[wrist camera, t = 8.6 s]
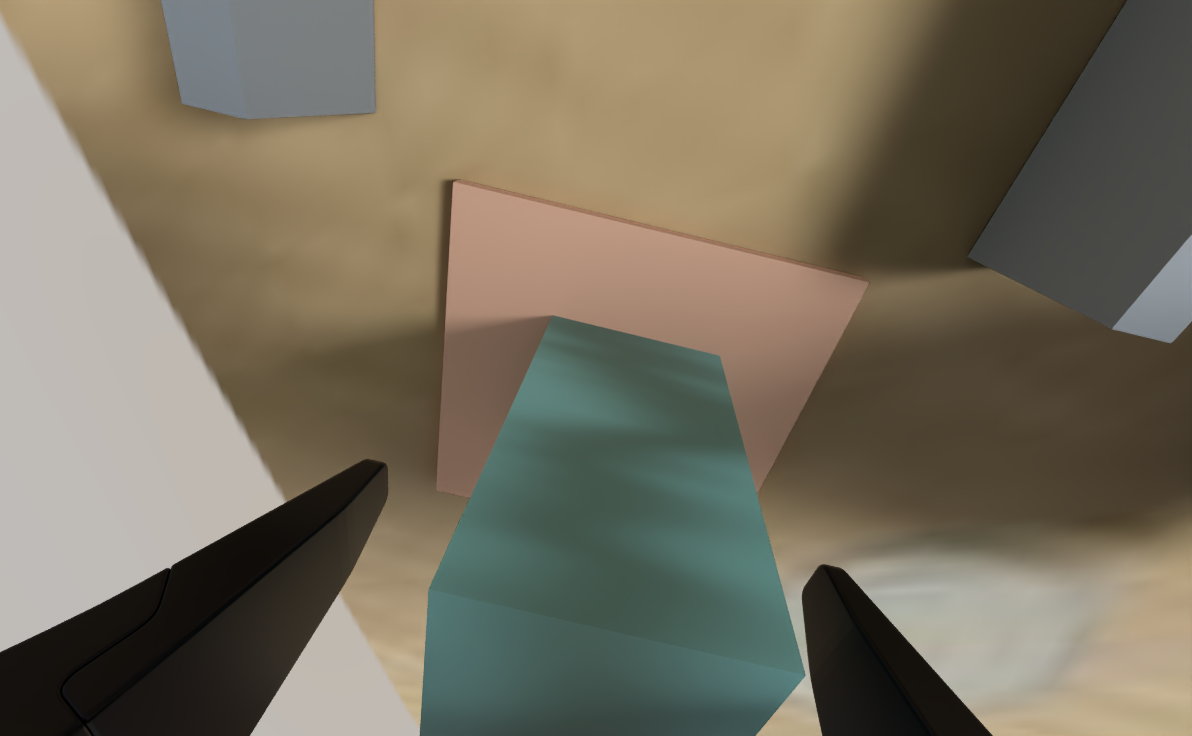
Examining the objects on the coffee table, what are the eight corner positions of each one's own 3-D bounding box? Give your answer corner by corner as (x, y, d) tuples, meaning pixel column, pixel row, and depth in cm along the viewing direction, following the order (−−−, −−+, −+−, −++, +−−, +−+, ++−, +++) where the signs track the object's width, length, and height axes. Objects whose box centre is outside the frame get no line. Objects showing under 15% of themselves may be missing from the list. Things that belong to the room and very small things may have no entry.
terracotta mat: (863, 277, 12) (869, 282, 11) (722, 547, 17) (724, 556, 16) (459, 179, 11) (453, 181, 11) (440, 482, 16) (436, 490, 16)
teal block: (719, 355, 12) (806, 675, 6) (669, 479, 15) (686, 817, 8) (552, 315, 12) (427, 589, 5) (528, 446, 15) (418, 758, 8)
